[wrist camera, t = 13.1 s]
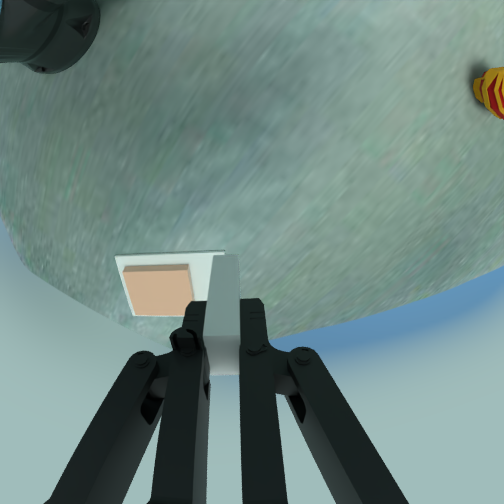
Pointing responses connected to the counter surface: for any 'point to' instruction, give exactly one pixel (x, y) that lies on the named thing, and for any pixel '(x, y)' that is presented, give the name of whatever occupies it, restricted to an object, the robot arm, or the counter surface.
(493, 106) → the potion bottle
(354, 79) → the counter surface
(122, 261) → the white rectangular board
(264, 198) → the counter surface
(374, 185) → the counter surface
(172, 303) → the terracotta tile
